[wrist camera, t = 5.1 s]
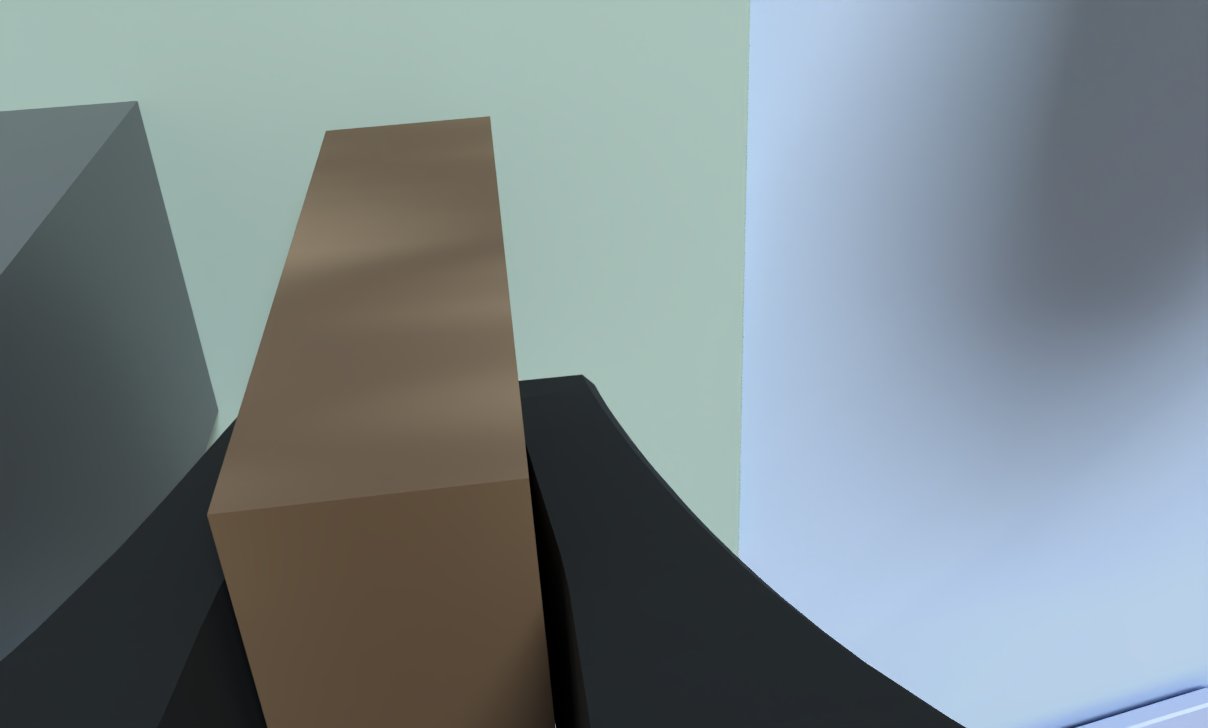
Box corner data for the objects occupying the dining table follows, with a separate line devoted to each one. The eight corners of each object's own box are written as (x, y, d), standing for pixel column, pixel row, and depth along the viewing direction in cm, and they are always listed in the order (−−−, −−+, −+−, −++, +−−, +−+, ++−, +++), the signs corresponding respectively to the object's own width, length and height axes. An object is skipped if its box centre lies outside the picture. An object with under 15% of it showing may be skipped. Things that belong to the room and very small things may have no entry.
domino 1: (137, 100, 13) (-116, 421, 7) (218, 410, 16) (75, 850, 10) (-20, 113, 13) (-409, 450, 7) (85, 423, 15) (-145, 879, 10)
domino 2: (490, 115, 12) (528, 478, 6) (525, 446, 15) (579, 950, 9) (325, 130, 12) (207, 514, 6) (386, 461, 15) (341, 985, 8)
